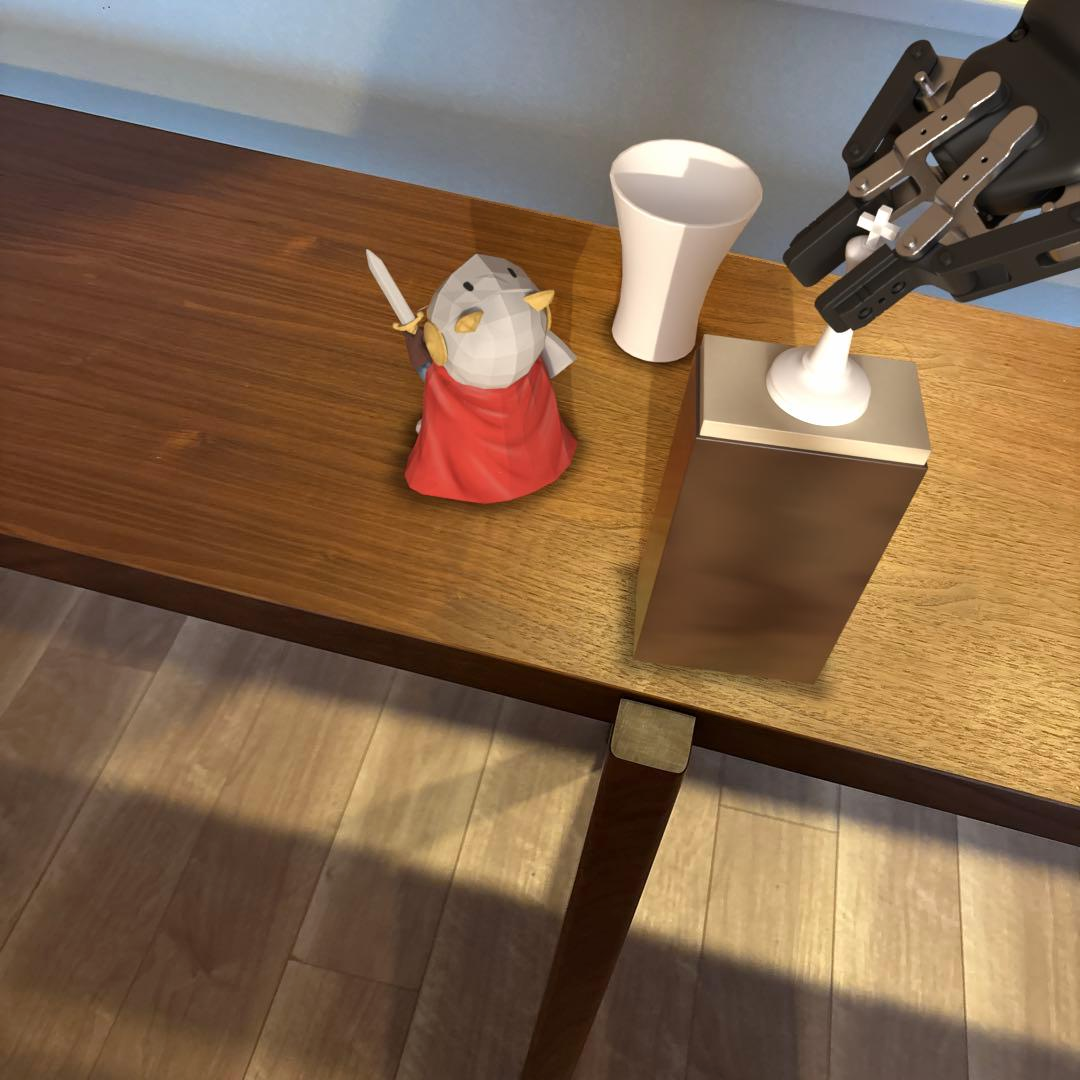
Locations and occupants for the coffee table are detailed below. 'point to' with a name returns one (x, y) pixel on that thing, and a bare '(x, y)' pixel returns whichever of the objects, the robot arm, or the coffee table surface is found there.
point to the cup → (674, 238)
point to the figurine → (484, 384)
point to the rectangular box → (772, 516)
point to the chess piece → (830, 353)
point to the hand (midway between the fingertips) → (810, 295)
